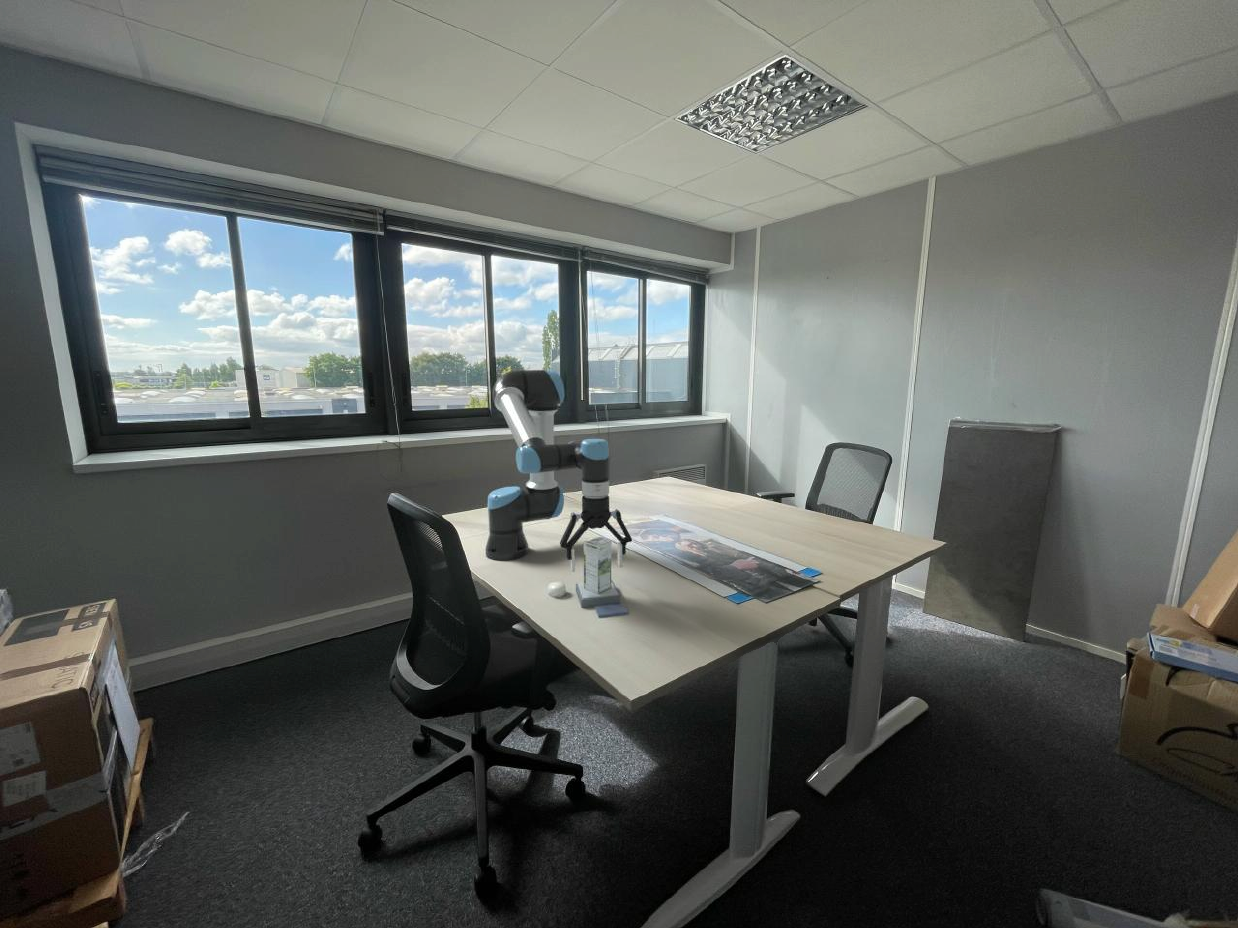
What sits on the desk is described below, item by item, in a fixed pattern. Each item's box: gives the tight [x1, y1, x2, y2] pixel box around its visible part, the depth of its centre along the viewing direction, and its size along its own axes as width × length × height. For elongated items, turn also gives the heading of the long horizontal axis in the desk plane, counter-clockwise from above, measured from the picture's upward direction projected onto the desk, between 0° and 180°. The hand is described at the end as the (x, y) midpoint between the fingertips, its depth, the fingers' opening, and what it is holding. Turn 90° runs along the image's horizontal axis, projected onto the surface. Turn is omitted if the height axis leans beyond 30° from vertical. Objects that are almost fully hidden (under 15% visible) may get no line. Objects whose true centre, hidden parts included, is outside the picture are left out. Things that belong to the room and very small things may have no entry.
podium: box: [575, 579, 622, 608], centre depth 139 cm, size 11×11×2 cm
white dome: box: [547, 581, 567, 599], centre depth 141 cm, size 5×5×2 cm
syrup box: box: [583, 536, 612, 594], centre depth 137 cm, size 6×6×14 cm
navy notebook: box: [594, 603, 629, 618], centre depth 130 cm, size 5×8×1 cm, turn 104°
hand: (596, 567), depth 138 cm, fingers open, 13 cm apart
